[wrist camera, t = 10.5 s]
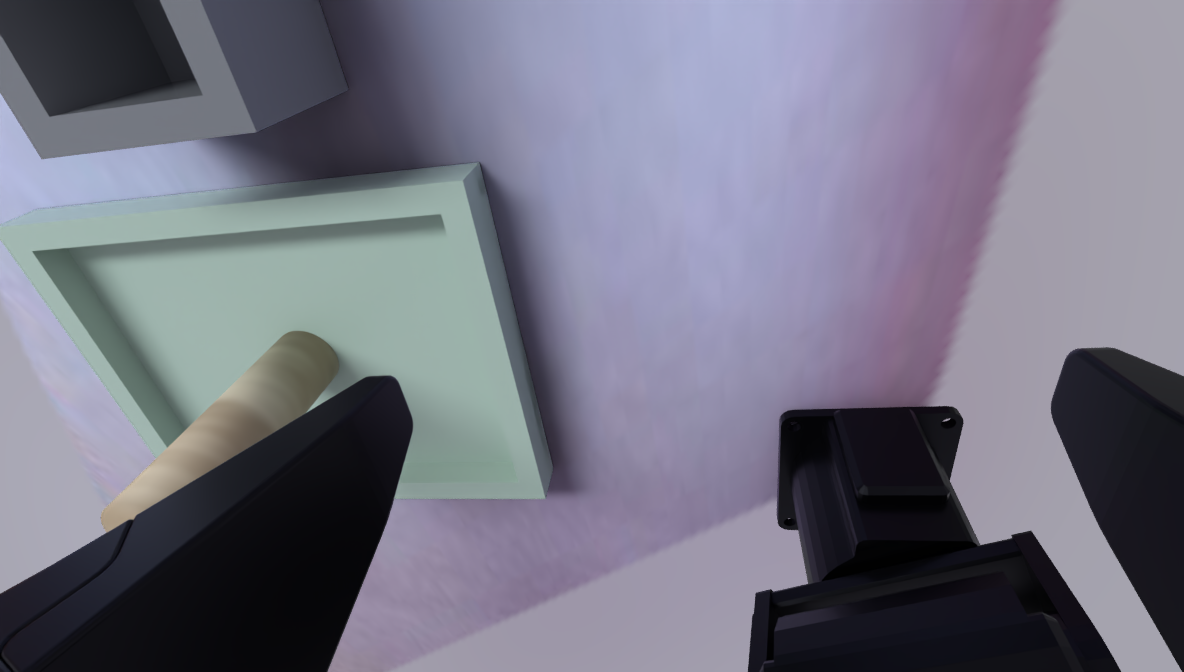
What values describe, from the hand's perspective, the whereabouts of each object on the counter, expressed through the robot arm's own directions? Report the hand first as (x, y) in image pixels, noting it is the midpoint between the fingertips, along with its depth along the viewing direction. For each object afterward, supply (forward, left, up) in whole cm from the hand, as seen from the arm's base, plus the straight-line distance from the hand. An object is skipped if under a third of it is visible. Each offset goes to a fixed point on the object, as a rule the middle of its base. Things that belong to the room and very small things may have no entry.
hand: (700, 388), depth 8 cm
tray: (-7, +16, -12) cm, 21 cm away
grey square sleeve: (+6, +14, -12) cm, 20 cm away
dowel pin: (-7, +16, -12) cm, 21 cm away
